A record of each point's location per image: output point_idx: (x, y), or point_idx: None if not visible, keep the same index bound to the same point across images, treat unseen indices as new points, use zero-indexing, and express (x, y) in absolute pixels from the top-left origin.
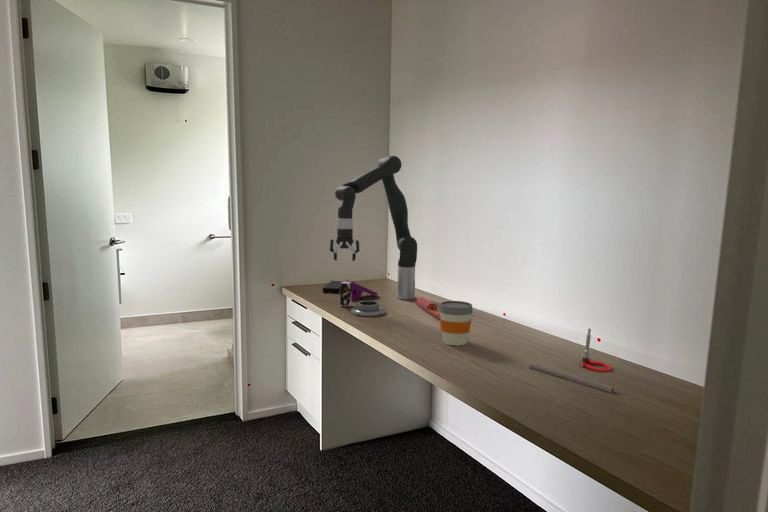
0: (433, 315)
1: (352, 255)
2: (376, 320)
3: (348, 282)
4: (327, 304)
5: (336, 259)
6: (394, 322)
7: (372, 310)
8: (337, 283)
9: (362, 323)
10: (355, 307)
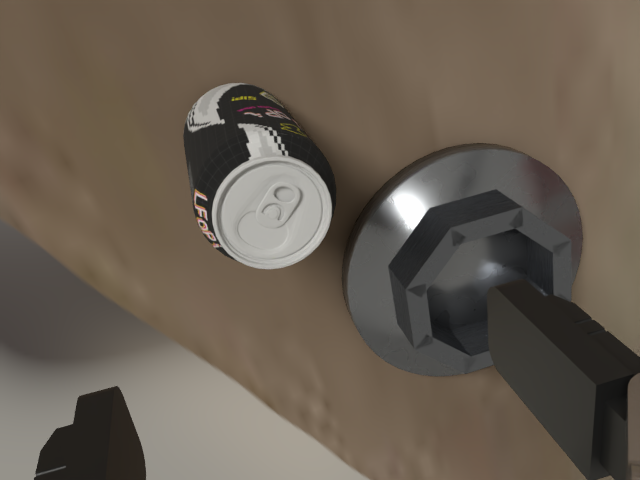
0: None
1: (563, 448)
2: None
3: (303, 188)
4: (46, 128)
5: (141, 468)
6: None
7: None
8: None
9: (465, 476)
10: (368, 255)
